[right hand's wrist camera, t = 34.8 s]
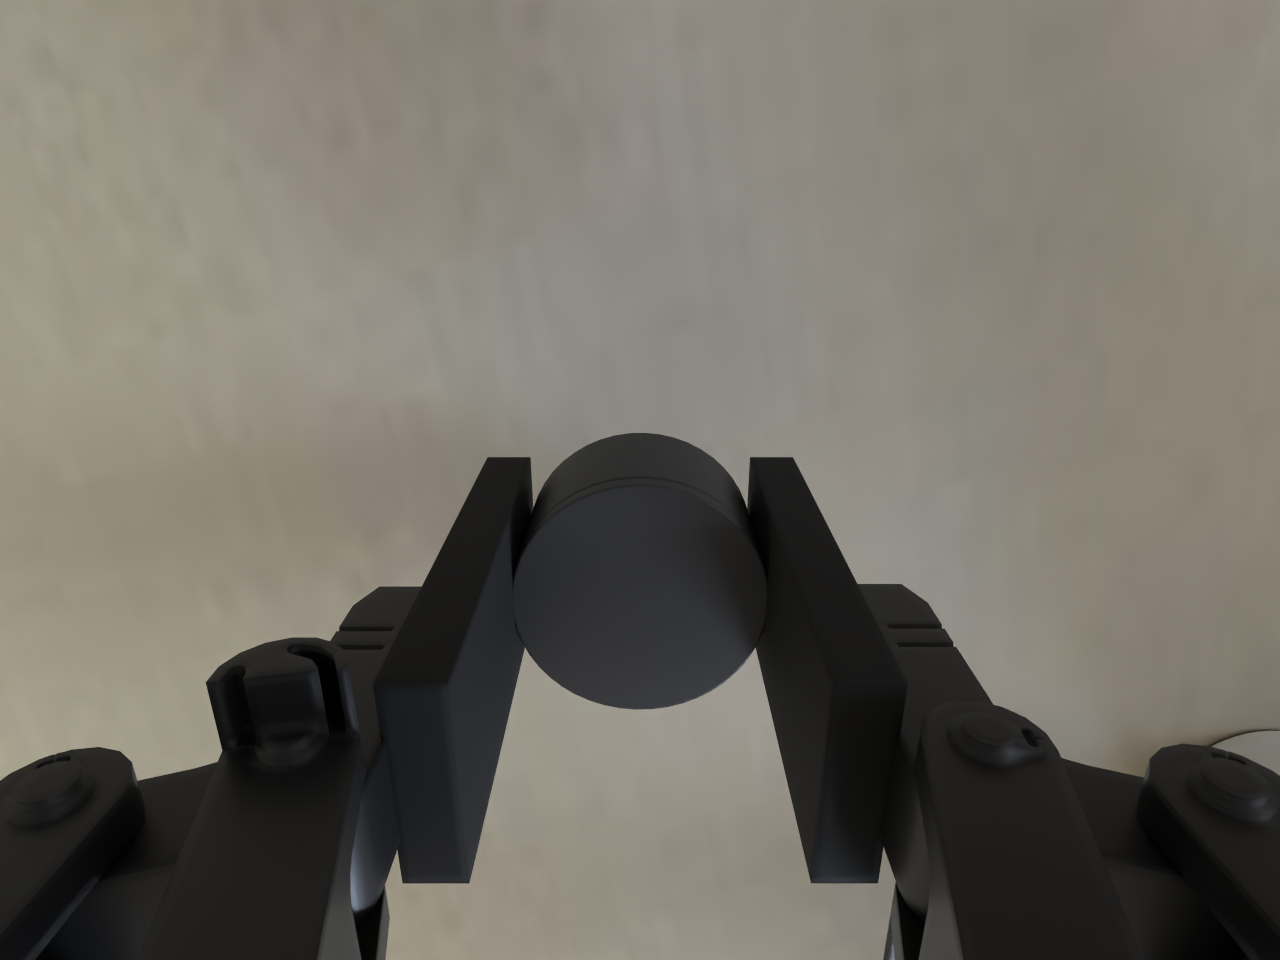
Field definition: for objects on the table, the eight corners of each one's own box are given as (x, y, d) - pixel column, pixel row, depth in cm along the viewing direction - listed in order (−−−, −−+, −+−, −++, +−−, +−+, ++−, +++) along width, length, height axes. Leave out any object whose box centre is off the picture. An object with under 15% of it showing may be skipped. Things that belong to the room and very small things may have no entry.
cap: (672, 662, 15) (677, 747, 13) (492, 565, 15) (465, 639, 12) (792, 503, 14) (821, 568, 12) (603, 389, 13) (595, 436, 11)
